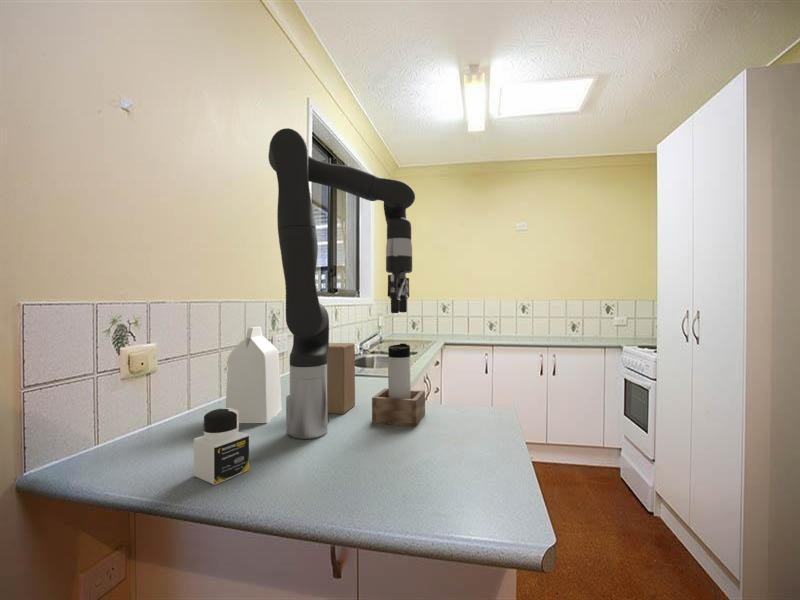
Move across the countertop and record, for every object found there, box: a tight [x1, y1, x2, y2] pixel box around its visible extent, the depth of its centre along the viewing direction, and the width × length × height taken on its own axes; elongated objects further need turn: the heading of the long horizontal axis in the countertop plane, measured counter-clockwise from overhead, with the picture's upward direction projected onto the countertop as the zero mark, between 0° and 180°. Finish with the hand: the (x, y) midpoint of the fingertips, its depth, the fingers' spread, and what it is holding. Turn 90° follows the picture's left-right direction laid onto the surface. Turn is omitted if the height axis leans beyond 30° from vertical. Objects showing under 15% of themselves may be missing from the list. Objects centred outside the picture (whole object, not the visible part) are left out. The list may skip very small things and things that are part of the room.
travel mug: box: [387, 342, 412, 399], centre depth 103 cm, size 6×7×20 cm
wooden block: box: [327, 342, 356, 415], centre depth 112 cm, size 10×10×20 cm
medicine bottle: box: [193, 407, 250, 486], centre depth 70 cm, size 7×7×12 cm
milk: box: [225, 326, 283, 424], centre depth 105 cm, size 12×12×26 cm
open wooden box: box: [371, 388, 426, 427], centre depth 103 cm, size 12×11×7 cm
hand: (399, 312), depth 103 cm, fingers open, 8 cm apart
